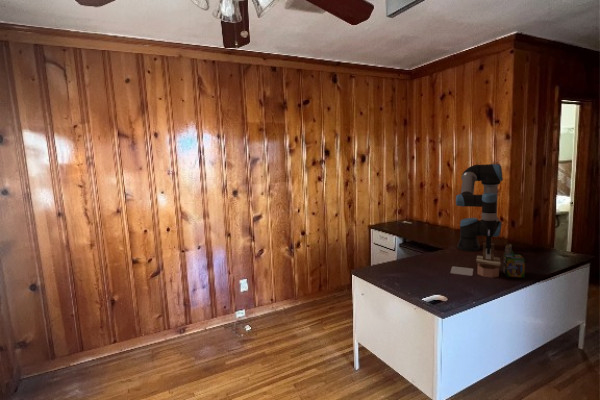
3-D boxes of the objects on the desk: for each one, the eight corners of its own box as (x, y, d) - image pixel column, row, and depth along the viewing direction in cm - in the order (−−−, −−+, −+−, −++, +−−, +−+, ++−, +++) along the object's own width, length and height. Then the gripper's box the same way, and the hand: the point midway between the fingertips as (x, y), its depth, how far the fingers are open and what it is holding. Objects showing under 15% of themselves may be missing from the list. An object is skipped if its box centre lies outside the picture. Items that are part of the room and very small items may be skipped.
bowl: (477, 270, 198) (477, 262, 197) (498, 272, 193) (498, 264, 192) (477, 276, 189) (477, 267, 188) (499, 279, 183) (499, 270, 182)
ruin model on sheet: (509, 259, 216) (510, 245, 214) (504, 258, 218) (504, 244, 216) (512, 255, 224) (512, 241, 223) (507, 254, 226) (507, 241, 225)
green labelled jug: (524, 278, 182) (525, 253, 180) (506, 277, 186) (506, 252, 184) (520, 272, 191) (521, 248, 189) (502, 271, 194) (503, 248, 192)
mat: (452, 267, 206) (452, 266, 206) (473, 269, 200) (473, 268, 200) (450, 273, 195) (450, 273, 195) (472, 276, 189) (472, 275, 189)
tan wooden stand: (477, 257, 198) (477, 240, 196) (499, 259, 192) (500, 242, 190) (476, 263, 188) (476, 245, 186) (500, 265, 181) (500, 247, 180)
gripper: (481, 216, 195) (481, 253, 198) (481, 221, 181) (480, 261, 184) (496, 217, 191) (495, 255, 194) (496, 222, 178) (495, 263, 181)
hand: (488, 258), depth 189 cm, fingers closed on tan wooden stand, 3 cm apart
